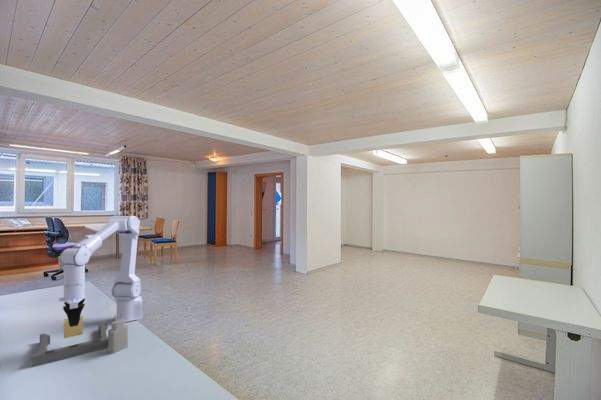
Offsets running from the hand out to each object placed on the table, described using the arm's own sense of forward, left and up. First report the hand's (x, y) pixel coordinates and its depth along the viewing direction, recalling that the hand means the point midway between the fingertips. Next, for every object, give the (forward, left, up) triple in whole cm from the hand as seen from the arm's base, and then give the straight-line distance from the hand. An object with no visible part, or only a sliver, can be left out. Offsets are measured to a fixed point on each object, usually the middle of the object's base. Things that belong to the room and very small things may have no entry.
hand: (74, 323), depth 99 cm
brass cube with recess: (0, 0, -4) cm, 4 cm away
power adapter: (-12, +9, -9) cm, 17 cm away
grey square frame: (0, -3, -9) cm, 9 cm away
